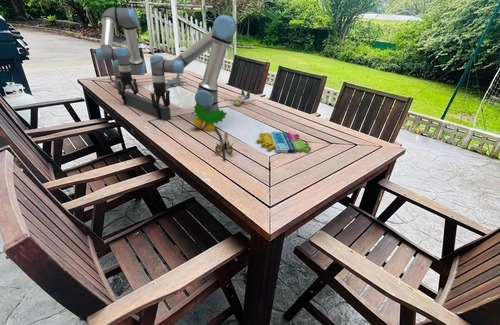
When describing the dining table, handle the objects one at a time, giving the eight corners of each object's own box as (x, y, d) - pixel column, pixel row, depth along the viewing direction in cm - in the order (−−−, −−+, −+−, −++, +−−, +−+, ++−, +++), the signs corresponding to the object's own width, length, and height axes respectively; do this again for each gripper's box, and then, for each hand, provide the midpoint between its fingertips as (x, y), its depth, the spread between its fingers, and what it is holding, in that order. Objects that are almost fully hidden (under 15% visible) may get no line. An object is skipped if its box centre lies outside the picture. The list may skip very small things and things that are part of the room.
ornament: (218, 133, 171) (224, 110, 169) (221, 134, 163) (227, 111, 161) (186, 125, 162) (192, 101, 160) (189, 126, 155) (195, 101, 153)
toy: (261, 91, 228) (254, 99, 202) (261, 99, 231) (253, 108, 205) (231, 87, 233) (220, 95, 207) (230, 95, 236) (219, 104, 210)
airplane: (153, 81, 261) (151, 71, 256) (184, 80, 275) (183, 70, 270) (160, 92, 233) (159, 80, 228) (195, 89, 246) (194, 78, 241)
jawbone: (234, 135, 144) (233, 125, 135) (233, 160, 138) (232, 151, 129) (217, 135, 144) (216, 125, 135) (216, 160, 138) (214, 150, 129)
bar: (170, 119, 174) (169, 107, 170) (165, 120, 171) (163, 108, 167) (129, 101, 201) (127, 91, 197) (123, 103, 198) (121, 92, 194)
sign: (313, 150, 142) (258, 149, 139) (312, 153, 143) (258, 152, 140) (301, 132, 164) (254, 130, 161) (301, 134, 165) (254, 133, 162)
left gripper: (135, 69, 194) (139, 99, 205) (108, 71, 180) (114, 104, 191) (141, 70, 190) (145, 101, 201) (113, 73, 176) (120, 106, 187)
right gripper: (167, 79, 172) (170, 112, 184) (142, 82, 160) (147, 118, 171) (174, 81, 168) (176, 115, 180) (150, 84, 156) (154, 121, 167)
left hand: (130, 102), depth 196 cm, fingers open, 7 cm apart
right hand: (162, 117), depth 176 cm, fingers closed on bar, 4 cm apart
